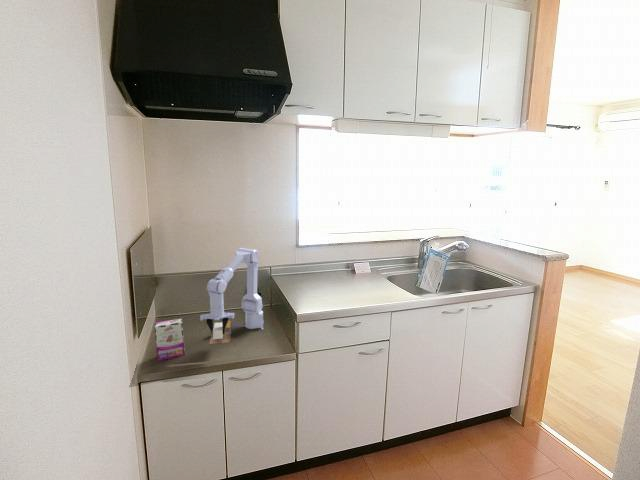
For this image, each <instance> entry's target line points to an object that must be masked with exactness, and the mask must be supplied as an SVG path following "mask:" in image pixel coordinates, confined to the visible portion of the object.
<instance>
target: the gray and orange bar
mask: <svg viewBox="0 0 640 480" xmlns="http://www.w3.org/2000/svg"><path fill="white" fill-rule="evenodd" d="M243 327H245V328H246V323H245V322H236V323H235V322H234V323H231V320H229V319H228V323H227V325H226V327H225V329H228V328H243Z"/></svg>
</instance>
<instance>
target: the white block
mask: <svg viewBox="0 0 640 480" xmlns="http://www.w3.org/2000/svg"><path fill="white" fill-rule="evenodd" d="M213 327H214V328H213V339H221V338H223V325H222V321H221V322H213Z"/></svg>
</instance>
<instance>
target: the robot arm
mask: <svg viewBox="0 0 640 480" xmlns="http://www.w3.org/2000/svg"><path fill="white" fill-rule="evenodd" d="M234 254H235V255H234V258H233V259H232V260H231V262H230V263H229V264H228V266H227V267H223V268H222V269H221V270H220V271H219V273H218V274H217V275H216V276H215V277H214V278H212V279H210V280H209V281H208V282H207V285H206V287H205V288H206V291H207V292H208V296H209V306H210V309H209V310H210V313H205V314H200V316H199V318H200V321H206V322H205V323H206V325H207V326H208V328H209V330H210V334H211V333H212V335H213V328H214V321H220V320H221V319H222V320H221V322H222V325H223V334H224V332H226V330H225V329H226V325H227V323H228V320H229V319H235V312H225V308H224V307H225V306H224V305H225V303H224V301H225V300H224V293H225V291H226V290H227V286H228V283H229V282H230V281H231V279H232V278H233V277H234V274H235V273H234V272H235V271H237V270H238V268H239V267H240V266H241V265H242V264H243V263H244V264H245V265H246V267H247V268H246V269H247V270H246V271H247V272H246V294H245V295H244V296H242V300H241V308H242V310H243V312H244V313H245V321H244V323H246V327H245V328H246V329H249V330H254V329H255V330H256V329H261V330H262V331H263V330H264V323H265V322H264V311H263V310H262V309H263V299H262V296H260V295H259V294H258V267H259V266H258V265H259V264H260V251H258V250H257V249H252V248H245V247H238V248H237V250H236V251H235V253H234Z"/></svg>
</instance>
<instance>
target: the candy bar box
mask: <svg viewBox="0 0 640 480" xmlns="http://www.w3.org/2000/svg"><path fill="white" fill-rule="evenodd" d="M154 335H155V345H156V346H155V347H156V355H157V356H156V358H157V361H158V362H161V361H166V360H171V359H172V358H174V357H175V358H176V357H179V356H180V357H181V356H185V355H186V352H185V351H186V350H185V348H186V347H185V340H184V339H185V338H184V328H183V317H182V318H177V319H176V318H175V319H169V320H164V321H157V322H154Z"/></svg>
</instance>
